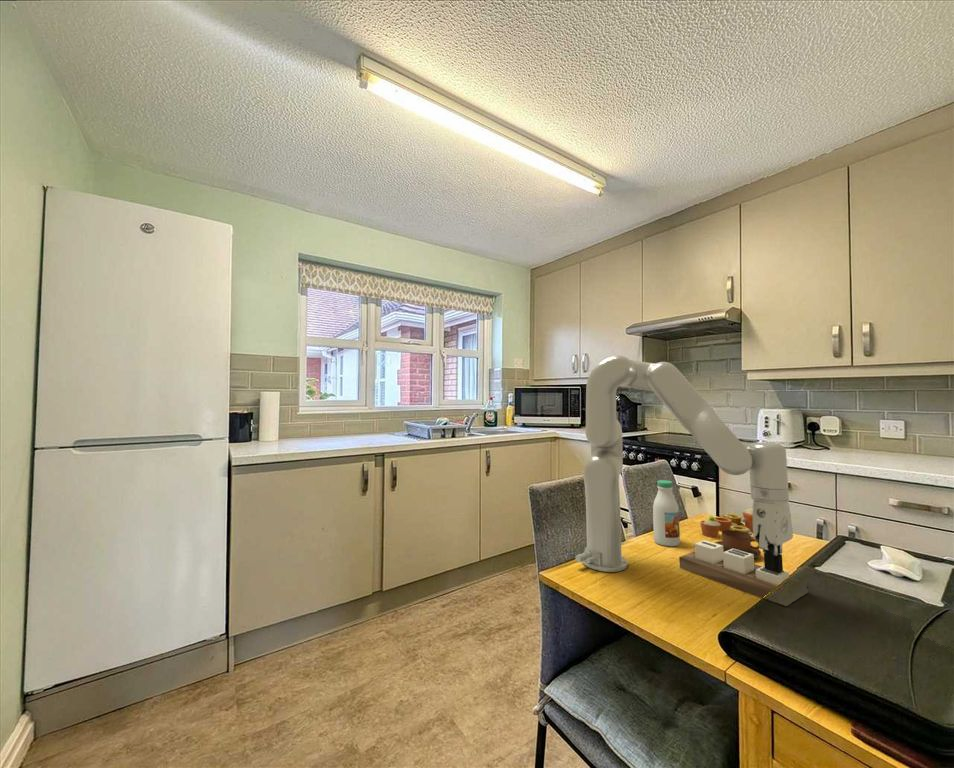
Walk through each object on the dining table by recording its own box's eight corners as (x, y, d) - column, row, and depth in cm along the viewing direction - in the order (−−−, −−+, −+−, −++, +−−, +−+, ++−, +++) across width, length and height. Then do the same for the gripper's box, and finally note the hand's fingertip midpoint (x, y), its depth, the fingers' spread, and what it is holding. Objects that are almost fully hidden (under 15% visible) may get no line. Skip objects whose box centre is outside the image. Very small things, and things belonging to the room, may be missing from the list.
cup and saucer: (746, 547, 125) (745, 527, 125) (770, 563, 113) (769, 541, 113) (706, 546, 126) (705, 527, 126) (726, 562, 114) (725, 540, 114)
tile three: (780, 594, 93) (779, 576, 93) (756, 586, 97) (755, 568, 97) (789, 589, 95) (788, 571, 96) (765, 581, 100) (765, 563, 100)
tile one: (713, 564, 106) (713, 548, 106) (695, 558, 110) (694, 542, 110) (723, 560, 108) (723, 544, 108) (705, 554, 112) (704, 539, 113)
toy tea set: (727, 521, 152) (726, 496, 153) (775, 532, 139) (774, 504, 140) (692, 534, 137) (691, 506, 138) (742, 548, 125) (741, 517, 125)
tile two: (744, 574, 99) (744, 557, 99) (723, 567, 103) (723, 551, 104) (754, 570, 102) (753, 553, 102) (733, 563, 106) (732, 547, 106)
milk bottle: (655, 545, 127) (653, 483, 128) (652, 537, 134) (650, 478, 135) (682, 548, 125) (680, 484, 125) (677, 539, 132) (675, 479, 133)
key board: (786, 607, 89) (785, 593, 89) (679, 567, 110) (679, 556, 110) (808, 593, 95) (807, 580, 95) (703, 558, 116) (703, 548, 116)
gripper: (773, 501, 90) (777, 583, 89) (800, 492, 98) (805, 568, 97) (737, 495, 96) (741, 572, 95) (766, 487, 104) (770, 558, 103)
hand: (773, 569), depth 96 cm, fingers closed
